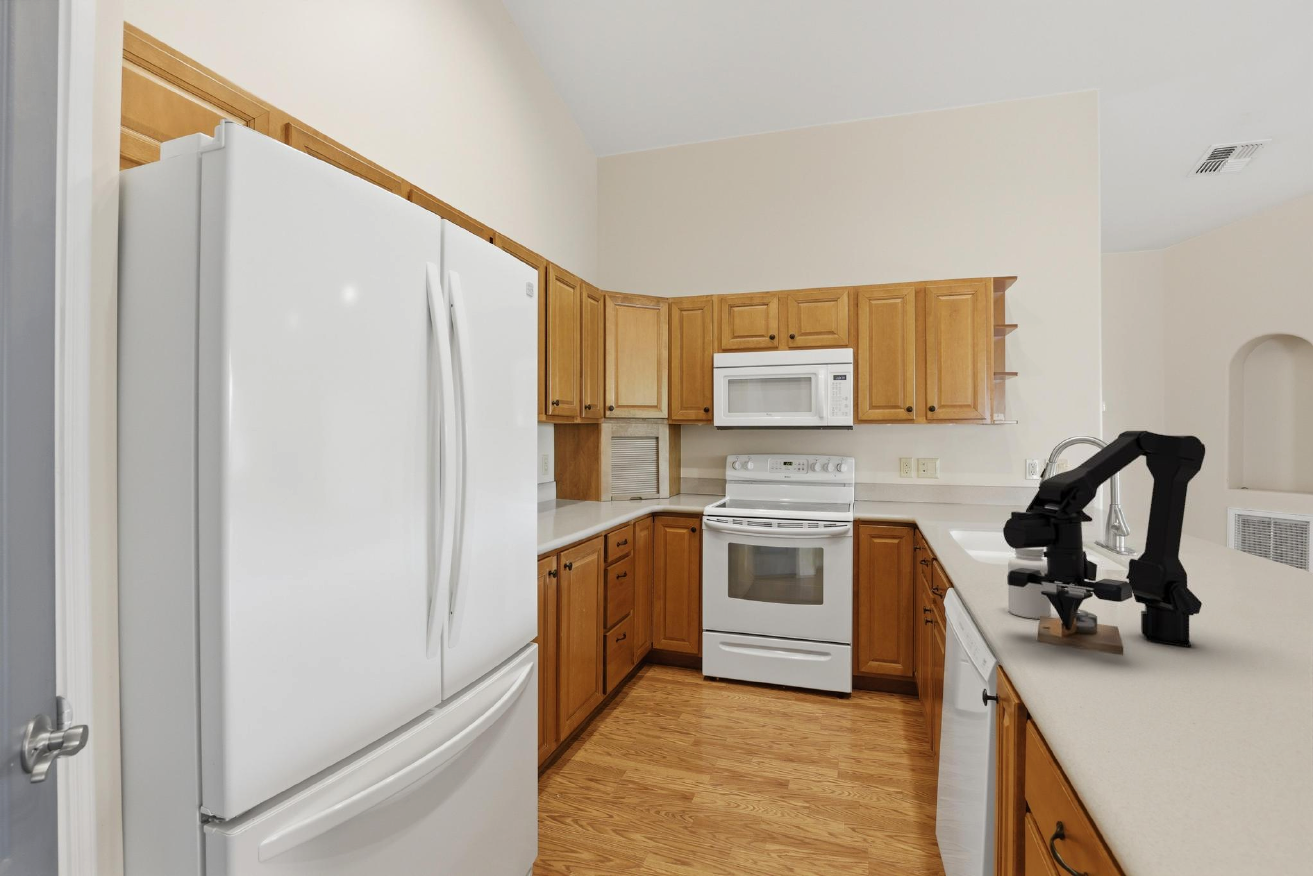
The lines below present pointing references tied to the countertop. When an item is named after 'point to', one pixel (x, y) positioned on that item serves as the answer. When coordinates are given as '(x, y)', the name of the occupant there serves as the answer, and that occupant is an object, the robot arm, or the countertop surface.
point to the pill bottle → (1028, 586)
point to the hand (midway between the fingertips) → (1068, 629)
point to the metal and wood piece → (1075, 624)
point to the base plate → (1084, 637)
